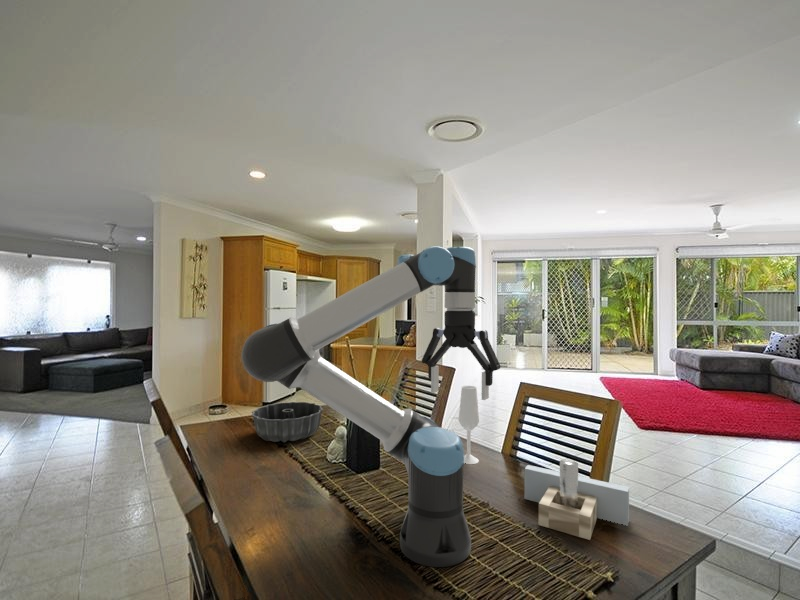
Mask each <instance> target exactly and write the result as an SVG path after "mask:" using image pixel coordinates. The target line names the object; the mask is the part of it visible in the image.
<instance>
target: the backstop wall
mask: <svg viewBox="0 0 800 600" xmlns="http://www.w3.org/2000/svg"><path fill="white" fill-rule="evenodd" d="M549 486H553V487H557V488H560V471H559V470H558V471H557V470H553V469H549V468H543V467H539V466H535V465H530V464H527V465H526V466H525V468H524V500H529V501H532V502H536V503H538V504H539V502H540V501H541V499H542V497H543V496H544V494H545V493H546V491H547V489H548V488H549ZM578 493H582V494H586V495H590V496H594V497H597V519H600V520H602V519H603V521H606V520H607V521H606V522H610V521H611V523H614V522H615V523H614V524H617V523H618V525H621V524H623V525H622V526H625V525H626V526H625V527H628V526H629V521H630V486H626V485H621V484H618V483H617V484H616V483H612V482H608V481H605V480H604V481H603V480H599V479H594V478H589V477H586V476H585V477H584V476H580V475H578Z"/></svg>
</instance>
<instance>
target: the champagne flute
mask: <svg viewBox="0 0 800 600" xmlns="http://www.w3.org/2000/svg"><path fill="white" fill-rule="evenodd" d="M460 392H461V393H460V400H459V401H460V402H459V411H458V412H459V413H458V422H459V424H460V426H461V427H462V428H463V429H464V430H466V454H464V462H463V464H465V463H466V464H465V465H473V464H474V465H475V464H478V463H479V462H480V460H479V458H477V457H476V456H474V455H472V454H471V436H472V435H471V432H472V431H473V430H474V429H475V428H476V427H477V426H478V425H479V424H480V416H479V415H480V414H479V402H478V401H479V400H478V391H477V386H476V385H475V386H474V385H462V386H461V391H460Z"/></svg>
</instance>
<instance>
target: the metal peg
mask: <svg viewBox="0 0 800 600" xmlns="http://www.w3.org/2000/svg"><path fill="white" fill-rule="evenodd" d="M559 472H560V505H564V506H568V507H572V508H575V509H578V476H579V464H578V462H577V461H576V460H575V461H574V460H573V459H572V460H571V459H561V460H560V461H559Z"/></svg>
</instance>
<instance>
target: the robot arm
mask: <svg viewBox="0 0 800 600" xmlns="http://www.w3.org/2000/svg"><path fill="white" fill-rule="evenodd" d="M476 263H477V262H476V252H475V249H473V248H471V247H468V246H452V247H451V246H450V247H447V248H445V247H443V246H438V245H437V246H435V245H434V246H429V247H427V248H425V249H423V250H422V251H421V252H418V254H412V253H409V254H401V255H399V256H398V258H397V263H396V265H394V266H393V267H391V268H390V269H389V268H388V269H387V270H386V271H384V272H382V273H381V274H378V275H377V276H375V277H373V278H371V279H369V280H368V281H365V282H363V283H362V284H360V285H357V286H356V287H355V288H352V289H350V290H348V291H347V292H345V293H344V294H342V295H340V296H338V297H336V298H334V299H332V300H331V301H329V302H327V303H325V304H323V305H322V306H319V307H318V308H316V309H314V310H312V311H310V312H308V313H307V314H305V315H303V316H300V317H299V318H295V317H289V318H287V319H285V320H284V321H281V322H279V323H273V324H268V325H266V326H264V327H263V328H260V329H257V330H256V331H254V332H252V334H250V335H249V336H248V337H247V338H246V340H245V342H244V344H243V346H242V348H241V362H242V366H243V368H244V370H245V371H246V373H247V374H248V375H250V377H252V378H254V379H256V381H260V382H264V383H274V382H278V383H279V384H280V385H283V386H284V387H286V388H287V389H289V390H291V389H296V388H300V389H301V390H303V391H305V392H306V393H308V395H311V396H312V397H313V398H315V399H317V400H319V402H322V403H323V404H324V405H326V406H328V407H329V408H330V409H332V410H334V411H336V412H337V413H339V414H340V415H341V416H343V417H345V418H346V419H348V420H349V421H351V422H353V424H355V425H357V426H358V427H360V428H362V429H363V430H365V432H368V433H370V434H371V435H372V436H374V437H375V438H377V439H378V440H380V441H381V442H382V446H383V450H384V451H385V452H386V453H388V454H389V455H391V456H393V457H394V458H395V459H397V460H399V461H400V462H401V463H403V464H404V466H405V469H406V471H407V477H408V480H407V481H408V484H407V485H408V487H407V488H408V492H407V493H408V498H407V499H408V500H407V501H408V503H407V504H408V505H407V506H408V507H407V510H406V513H405V516H404V519H403V523H402V525H401V528H400V532H399V547H400V548H399V549H400V550H401V552H402V554H403V555H404V556H405V557H406V558H407V559H409V560H411V561H413V562H414V563H416V564H419V565H421V566H426V567H432V568H445V567H446V568H447V567H453V566H456V565H458V564H461V563H462V562H463V561H465V560H466V559H467V558H469V556H470V554H471V552H472V537H471V536H472V535H471V532H470V529H469V525H468V522H467V519H466V517H465V516H466V515H465V513H464V463H463V462H464V455H465V452H464V443H463V441H462V439H461V437H460V436H459V435H458V434H457V433H456V432H455V431H453V430H448V429H447V428H443V427H440V426H439V425H438V424H437V423H436V422H435V421H434V420H433V419H432V418H429V417H427V416H423V415H421V414H419V413H418V412H416V411H414V410H413V409H411V408H410V407H409V408H404V409H400V408H399V407H397V406H396V405H395V404H393V403H392V402H390V401H388V399H387V400H386V399H385V398H384V397H382V396H381V395H379V394H378V393H376V392H374V391H373V390H372V389H370V388H369V387H367V386H366V385H364V384H363V383H361V382H360V381H358V380H357V379H355V378H354V377H352V376H350V375H349V374H348V373H346V372H345V371H343V370H342V369H341V368H339V367H338V366H336V365H335V364H333V363H331V362H330V361H328V360H326V359H325V358H324V357H322V355H321V354H320V349H322V348H324V347H325V346H327V345H329V344H331V343H333V342H335V341H337V340H339V339H340V338H342V337H343V336H345V335H347V334H349V333H351V332H353V331H354V330H355V329H359V327H361V326H363V325H365V324H366V323H369V322H371V321H372V320H373V319H376V318H378V317H379V316H381V315H383V314H384V313H386V312H388V311H390V310H391V309H394V308H395V307H397V306H399V305H400V304H402V303H404V302H406V301H407V300H410V299H411V298H413V297H414V296H417V295H418V294H421V293H422V292H424V291H426V290H428V289H429V288H432V287H433V286H440V287H441V286H444V308H445V309H446V310H445V311H444V328H443V329H442V328H441V327H437V328H436V327H434V328H433V329H432V336H431V339H430V341H429V342H428V346H427V348H426V350H425V351H424V354H423V356H422V359H421V363H422V364H425V365H427V366H428V367H427V368H428V375H427V376H428V379H430V381H431V382H430V393H431V394H432V393H433V394H434V393H437V392H439V391H440V389H439V387H440V386H439V385H440V384H439V383H440V382H439V381H440V378H439V377H440V372H439V370H440V367H439V365H437V363H439V361H440V360H441V358H442V357H443V356H444V355H445V354H446V353H447V351H448V350H449V349H450V348H451V347H452V348H457V347H458V348H461V349H464V348H466V349H468V351H470V353H471V354H472V355H473V357H474V358H475V359H476V361H477V362H478V363H479V365H480V366H481V368H482V369H483V370H484V371H482V372H481V400H483V401H486V400H487V399H489V398H490V396H489V395H490V394H489V393H490V392H489V389H490V386H492V385H493V376H494V375H493V373H494V371H498V370H500V369H501V364H500V362H499V360H498V358H497V356H496V353H495V351H494V349H493V347H492V345H491V342H490V340H489V333H488V330H486V329H482V330H476V328H475V326H476V312H475V310H473V309H475V308H476V269H477V264H476ZM443 336H444V338H445V340H444V341H443V342H442V344H441V346H440V347H439V348H438V349H437V346H439V345H438V344H439V343H440V341H441V337H443ZM476 338H477V340H479V341H480V344H481V347H482V349H483V351H484V353H485V355H484V353H483V352H482V350H480V348H479V347H478V344H477V343H476V342H475V339H476ZM436 349H437V351H436ZM435 351H436V352H435Z"/></svg>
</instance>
